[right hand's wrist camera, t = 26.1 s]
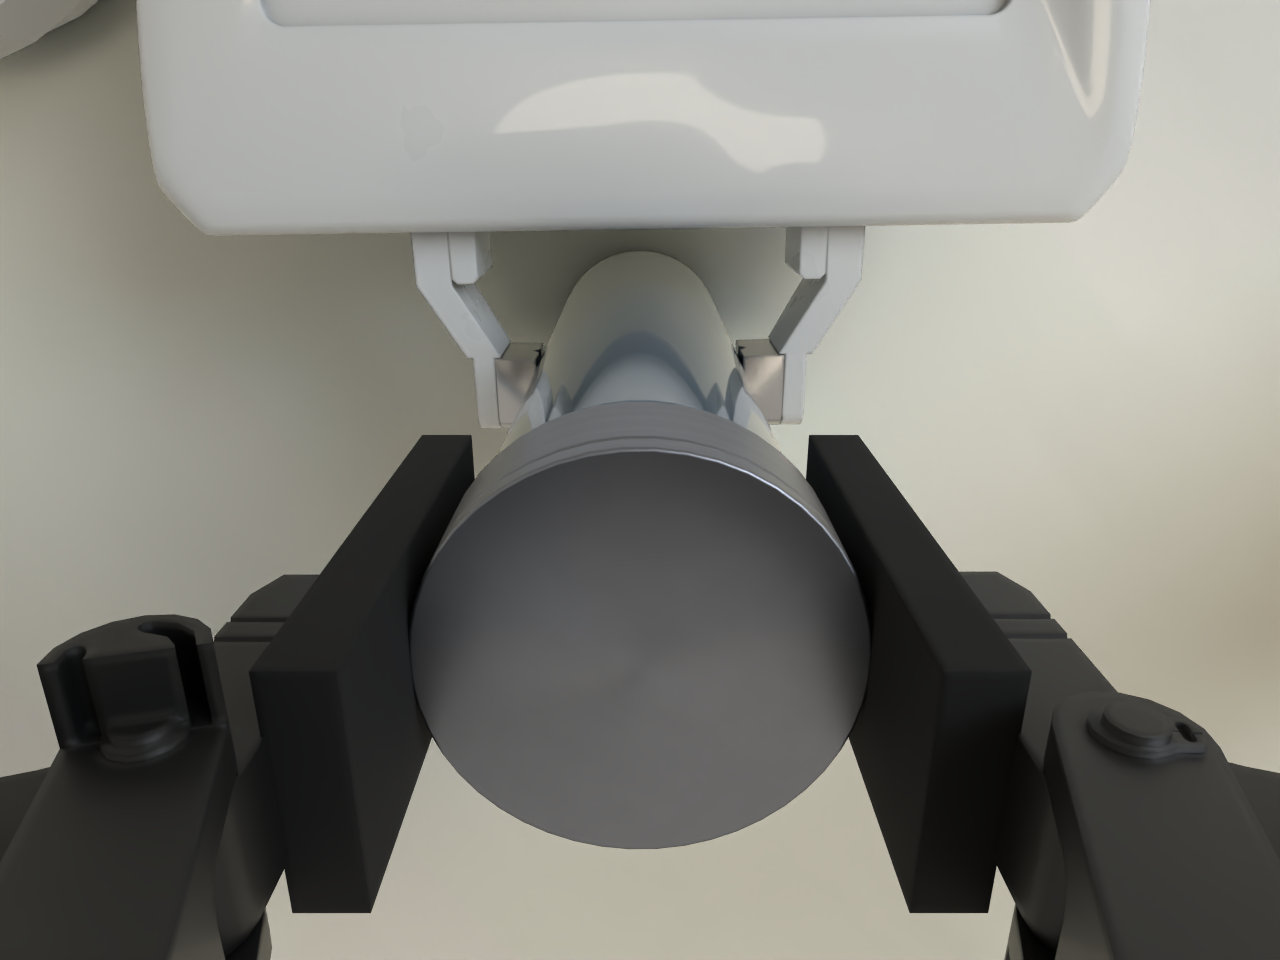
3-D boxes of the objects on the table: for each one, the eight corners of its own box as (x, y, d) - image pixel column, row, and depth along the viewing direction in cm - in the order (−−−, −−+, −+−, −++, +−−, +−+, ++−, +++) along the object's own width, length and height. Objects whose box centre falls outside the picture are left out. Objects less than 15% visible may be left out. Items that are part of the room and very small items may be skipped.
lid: (922, 539, 11) (971, 607, 10) (692, 812, 13) (700, 913, 11) (575, 316, 10) (562, 351, 9) (371, 642, 12) (327, 725, 10)
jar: (702, 235, 27) (810, 400, 10) (729, 388, 29) (860, 754, 12) (546, 268, 27) (390, 483, 10) (581, 417, 29) (499, 814, 12)
